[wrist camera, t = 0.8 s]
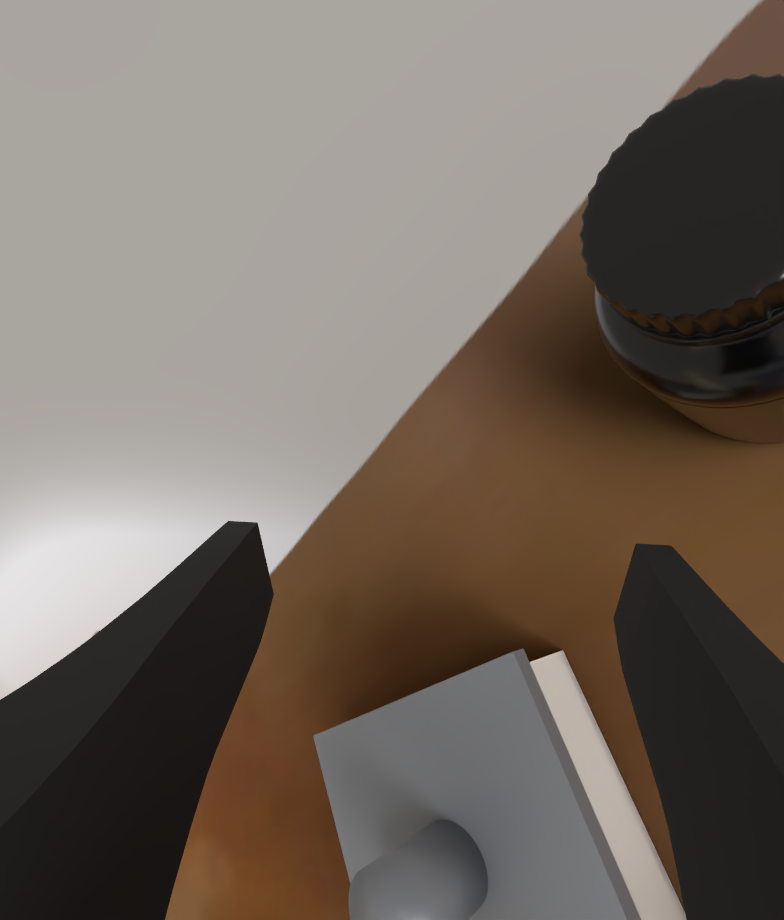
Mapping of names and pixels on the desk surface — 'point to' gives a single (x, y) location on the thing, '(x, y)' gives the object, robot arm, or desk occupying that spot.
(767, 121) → the supplement bottle
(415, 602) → the desk surface
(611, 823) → the white open box
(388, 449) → the desk surface
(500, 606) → the desk surface
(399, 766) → the gray lid
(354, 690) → the desk surface
